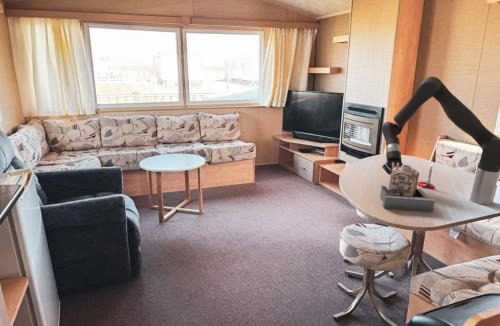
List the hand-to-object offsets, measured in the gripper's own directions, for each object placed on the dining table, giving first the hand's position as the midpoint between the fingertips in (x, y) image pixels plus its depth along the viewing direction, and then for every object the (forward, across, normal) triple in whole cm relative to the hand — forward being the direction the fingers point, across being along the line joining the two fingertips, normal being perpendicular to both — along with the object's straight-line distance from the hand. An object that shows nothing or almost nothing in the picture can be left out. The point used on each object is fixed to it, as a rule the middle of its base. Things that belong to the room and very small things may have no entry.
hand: (395, 181), depth 177 cm
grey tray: (+15, -1, +6) cm, 16 cm away
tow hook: (-7, -21, -17) cm, 28 cm away
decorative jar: (+10, -2, +1) cm, 11 cm away
